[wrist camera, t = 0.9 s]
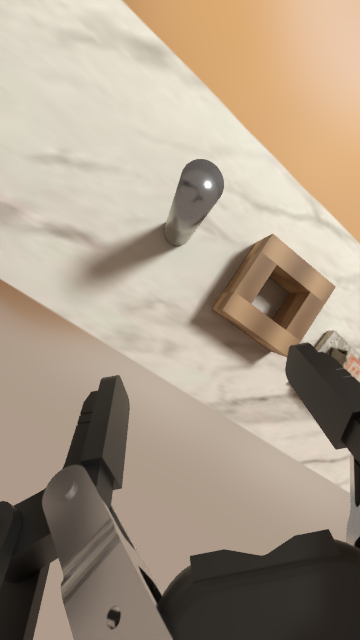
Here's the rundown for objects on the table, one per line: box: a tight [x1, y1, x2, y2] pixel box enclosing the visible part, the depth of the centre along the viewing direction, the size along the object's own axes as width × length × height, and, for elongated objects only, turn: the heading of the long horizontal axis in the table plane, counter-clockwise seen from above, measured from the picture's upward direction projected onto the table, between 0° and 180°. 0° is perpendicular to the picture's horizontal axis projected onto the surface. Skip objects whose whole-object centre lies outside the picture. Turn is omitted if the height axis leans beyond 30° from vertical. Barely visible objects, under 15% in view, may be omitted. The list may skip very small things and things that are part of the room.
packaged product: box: [315, 331, 360, 382], centre depth 33 cm, size 18×5×10 cm
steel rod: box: [164, 159, 224, 246], centre depth 23 cm, size 3×3×12 cm
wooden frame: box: [212, 234, 335, 357], centre depth 29 cm, size 11×11×4 cm
